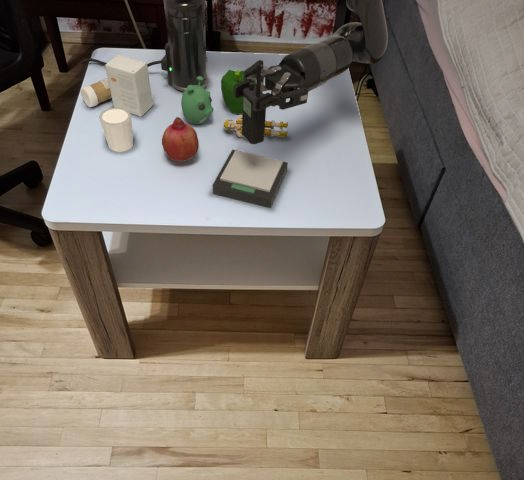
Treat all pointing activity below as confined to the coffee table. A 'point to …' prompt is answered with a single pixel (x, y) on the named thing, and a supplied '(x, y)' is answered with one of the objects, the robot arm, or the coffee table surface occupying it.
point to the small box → (129, 84)
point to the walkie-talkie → (253, 112)
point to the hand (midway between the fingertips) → (244, 99)
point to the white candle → (117, 128)
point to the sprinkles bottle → (96, 93)
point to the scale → (250, 178)
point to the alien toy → (196, 103)
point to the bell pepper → (227, 90)
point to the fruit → (180, 141)
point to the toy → (231, 125)
